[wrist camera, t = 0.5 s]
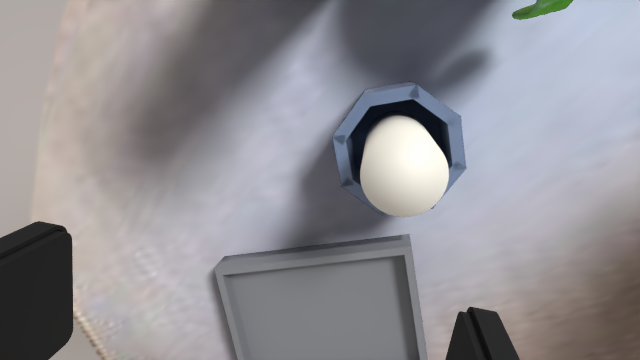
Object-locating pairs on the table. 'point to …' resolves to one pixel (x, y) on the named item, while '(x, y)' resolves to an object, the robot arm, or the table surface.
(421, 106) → the cup
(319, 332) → the tray
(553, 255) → the table surface
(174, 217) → the table surface
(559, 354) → the table surface
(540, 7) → the snack cup
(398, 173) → the peg
